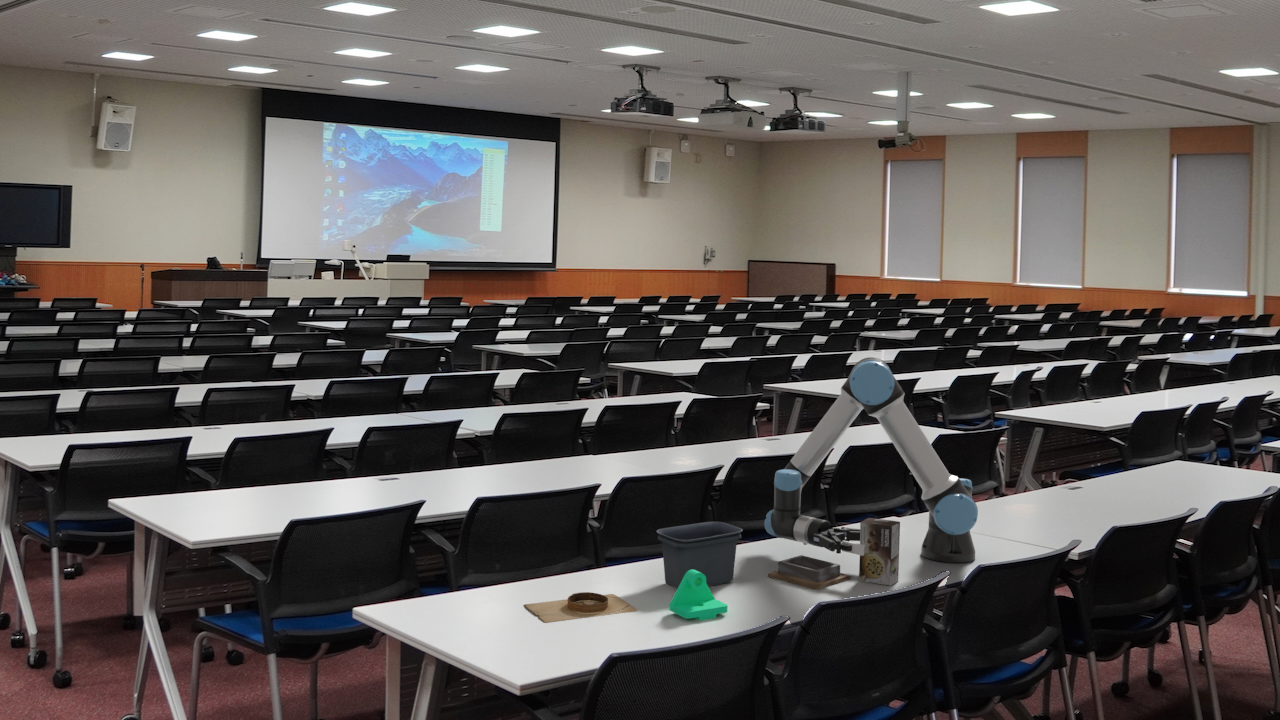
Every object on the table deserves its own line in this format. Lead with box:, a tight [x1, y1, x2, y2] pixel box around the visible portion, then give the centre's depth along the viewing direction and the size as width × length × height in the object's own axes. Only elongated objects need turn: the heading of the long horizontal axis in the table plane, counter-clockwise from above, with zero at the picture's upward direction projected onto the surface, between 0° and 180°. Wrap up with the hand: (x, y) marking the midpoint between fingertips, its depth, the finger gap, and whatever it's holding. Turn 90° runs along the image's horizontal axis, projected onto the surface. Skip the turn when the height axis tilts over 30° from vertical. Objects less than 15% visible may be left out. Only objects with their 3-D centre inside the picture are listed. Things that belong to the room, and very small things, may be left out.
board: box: [523, 591, 638, 624], centre depth 280 cm, size 25×15×3 cm, turn 117°
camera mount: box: [669, 569, 728, 621], centre depth 277 cm, size 12×8×10 cm, turn 120°
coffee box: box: [858, 517, 901, 586], centre depth 308 cm, size 9×6×16 cm
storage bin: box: [656, 521, 744, 589], centre depth 304 cm, size 21×16×14 cm
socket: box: [767, 554, 851, 590], centre depth 310 cm, size 15×16×4 cm
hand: (878, 546), depth 308 cm, fingers open, 13 cm apart
